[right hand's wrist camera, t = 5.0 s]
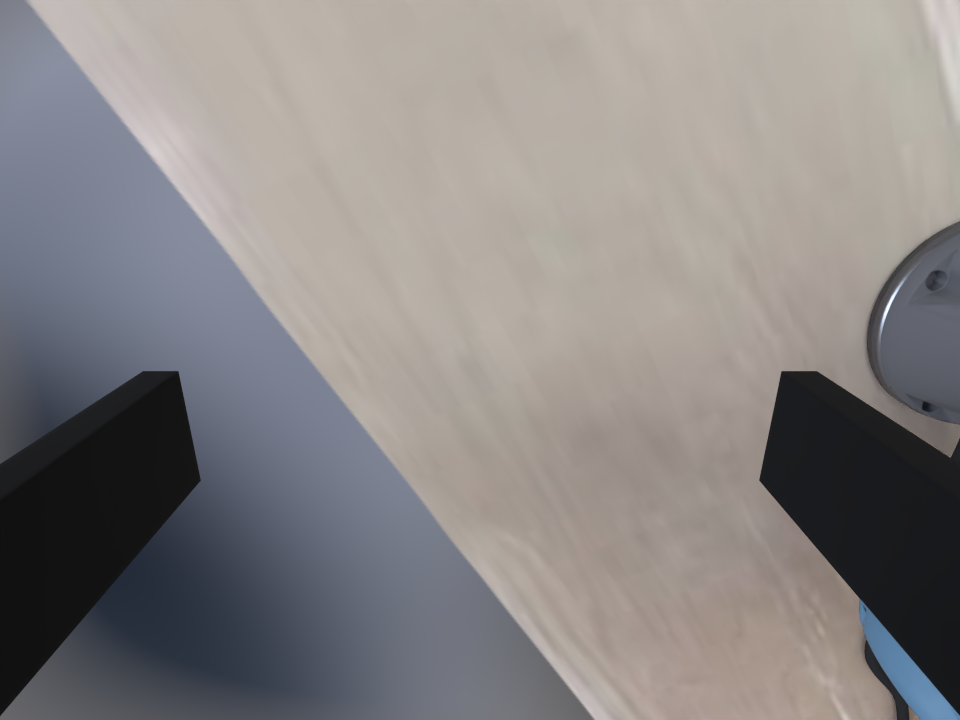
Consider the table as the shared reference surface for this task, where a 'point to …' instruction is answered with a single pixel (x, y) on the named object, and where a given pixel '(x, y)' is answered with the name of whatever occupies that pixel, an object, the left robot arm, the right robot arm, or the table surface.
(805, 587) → the table surface
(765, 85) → the table surface
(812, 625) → the table surface
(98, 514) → the right robot arm
